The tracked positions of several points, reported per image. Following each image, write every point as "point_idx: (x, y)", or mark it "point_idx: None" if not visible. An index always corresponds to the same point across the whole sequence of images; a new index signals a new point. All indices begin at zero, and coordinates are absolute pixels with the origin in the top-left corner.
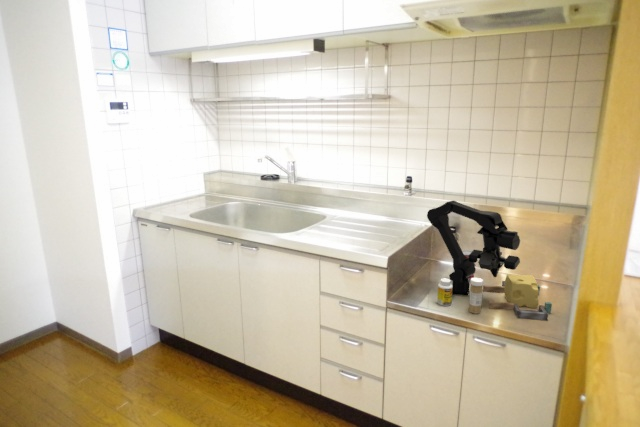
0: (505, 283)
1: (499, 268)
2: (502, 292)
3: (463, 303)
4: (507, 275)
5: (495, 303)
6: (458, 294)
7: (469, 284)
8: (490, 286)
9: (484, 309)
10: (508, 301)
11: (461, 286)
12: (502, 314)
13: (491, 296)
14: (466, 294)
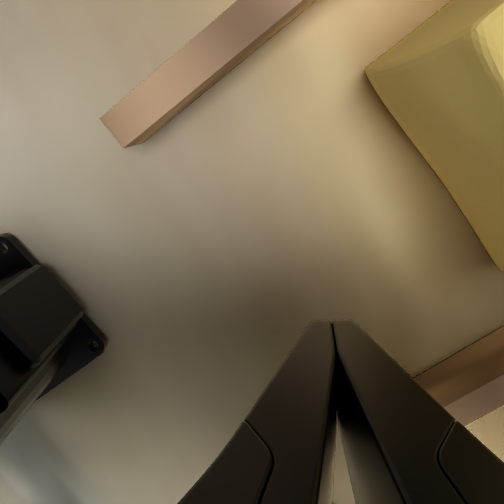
0: (421, 113)
1: (462, 435)
2: (306, 5)
3: (173, 478)
4: (500, 78)
5: None
6: (46, 392)
7: (41, 355)
8: (183, 92)
9: (345, 461)
10: (454, 198)
11: (14, 426)
12: (492, 445)
13: (264, 192)
14: (94, 355)
